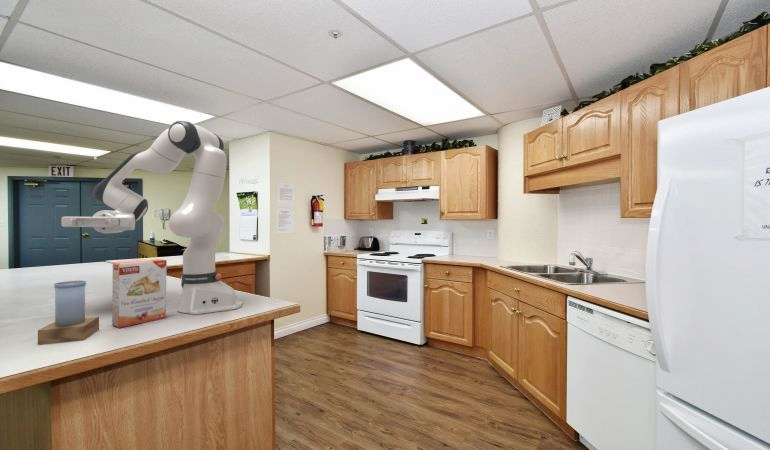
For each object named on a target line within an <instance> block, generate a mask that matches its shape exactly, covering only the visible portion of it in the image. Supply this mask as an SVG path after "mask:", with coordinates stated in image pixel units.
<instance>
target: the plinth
mask: <svg viewBox="0 0 770 450" xmlns="http://www.w3.org/2000/svg"><path fill="white" fill-rule="evenodd" d="M99 330H100V317H99V316H95V317H94V316H93V317H92V316H91V317H85V322H83V323H80V324H76V325H71V326H61V327H59V326H55V321H53V322H52V323H50V324H47V325H46V326H44V327H42V328H39V329H38V330H37V345H48V344H49V345H51V344H57V343H59V344H60V343H67V342H68V343H69V342H78V341H84V340H86V339H88V338H89V337H90V336H92V335H93V334H94V333H96V332H98V331H99Z"/></svg>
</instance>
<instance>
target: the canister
mask: <svg viewBox="0 0 770 450" xmlns="http://www.w3.org/2000/svg"><path fill="white" fill-rule="evenodd" d="M86 285H87V281H86V280H69V281H60V282H56V283H53V288H54V318H55V319H54V322H55V326H59V327H61V326H71V325H76V324H80V323H83V322H85V318H86Z"/></svg>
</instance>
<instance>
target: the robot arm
mask: <svg viewBox="0 0 770 450" xmlns="http://www.w3.org/2000/svg"><path fill="white" fill-rule="evenodd" d="M224 144H225V143H224V142H223V140H222V139H221V137H220V136H219V135H217V134H216V133H214V132H211V131H210V130H208V129H206V128H205V127H203V126H201V125H197V124H194V123H193V122H190V121H187V120H186V121H185V120H177V121H175V122H173V123H172V124H171V125H170V126H169V128H166V129H165V130H164V131H163V132H161V134H159V136H157V138H156V139H155V140H154V141H153V143H152V144H151V146H150V147H149V148H147V149H146V150H144V151H140V150H139V151H135V152H134V153H132V154H131V155H129V156H128V157H127V158H125V159H124V160H123V161H122V162H121V163H120V164H119V165H118V166H117V167H115V169H114V170H113V171H112V172H111V173H109V174H108V175H107V176H106V177H105V178H104V179H102V180H101V181H100V182H98V183H97V184H96V185H95V186H94V187H93V190H92V192H93V193H92V194H93V197H94V199H95V201H97V202H99V203H101V204H104V205H106V206H108V207H109V208H111V209H113V210H108V209H107V210H105V209H103V210H100V211H97V212H95V213H94V214H93V215H92V216H62V217H61V219H60V220H61V221H60V223H61V227H63V228H92V229H94V230H95V231H96V232H99V233H101V234H116V233H117V234H118V233H123V232H126V231H134V230H135V229H136V223H137V222H139V221H140V220H142V218H143V217H144V216H145V215H146V214H147V212H148V210H149V202H148V199H146V198H145V197H143V196H142V195H140V194H138V193H137V192H135V191H133V190H131V189H130V188H128V187H126V186H125V185H124V184H123V181H124V180H125V179H126V178H128V177H129V176H130V174H132V172H134V171H135V170H136V169H137V170H143V171H147V172H150V173H156V174H168V173H171V172H173V171H174V170H175V169H176V168H177V166H179V164H180V163H181V161H182V160H183V158H184V157H185V156H186V155H189V154H191V155H193V156H194V158H195V163H194V167H193V172H192V177H191V181H190V185H189V190H188V192H187V194H186V197H185V198H184V199H183V201H182V203H181V205H180V207H179V208H178V209H177V210H176V211H174V212H173V213H172V214H171V215H170V217H169V219H168V227H169V229H170V231H171V232H172V234H175V235H176V236H179V237H181V238H187V239H190V240H189V243H188V246H187V247H186V249H185V250H184V251H183V253H182V273H181V277H180V279H181V280H180V281H181V283H180V286H181V289H182V290H181V297H180V298H181V299H180V302H179V307H178V308H177V312H180V313H183V314H186V313H187V314H189V315H200V314H208V313H216V312H223V311H231V310H237V309H239V308H241V307H242V306H243V301H242V300H241V299H239V298H238V297H237V294H236V291H235V289H234V288H233V287H232V286H230V285H229V284H227V283H225V282H223V281H222V280H221V279H222V273H221V272H218V271H216V252H217V246H218V242H219V239H220V235H221V233H222V232H223V231H224V229H225V226H226V220H225V218H224V216H223V215H222V214H220V213H219V212H217V211H215V210H213V209H214V206H215V205H216V203H217V202H218V201H219V200H220V199H221V197H222V193H223V189H224V184H225V179H226V174H227V173H226V172H227V162H228V161H227V159H228V158H227V154H226V152H225V151H224V149H225V148H224V147H225V145H224Z"/></svg>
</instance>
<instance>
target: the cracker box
mask: <svg viewBox="0 0 770 450" xmlns="http://www.w3.org/2000/svg"><path fill="white" fill-rule="evenodd" d="M111 285H112V287H111V289H112V290H111V292H112V293H111V294H112V295H111V298H112V299H111V302H112V303H111V304H112V305H111V307H112V308H111V309H112V311H111V314H112V315H111V325H112V326H114V327H116V328H118V329H120V328H124V327H125V328H126V327H128V326H134V325H138V324H143V323H147V322H152V321H156V320H162V319H166V317H167V259H162V258H155V259H154V258H153V259H140V260H139V259H138V260H137V259H136V260H129V261H116V262H114V261H113V262H112V283H111Z"/></svg>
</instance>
